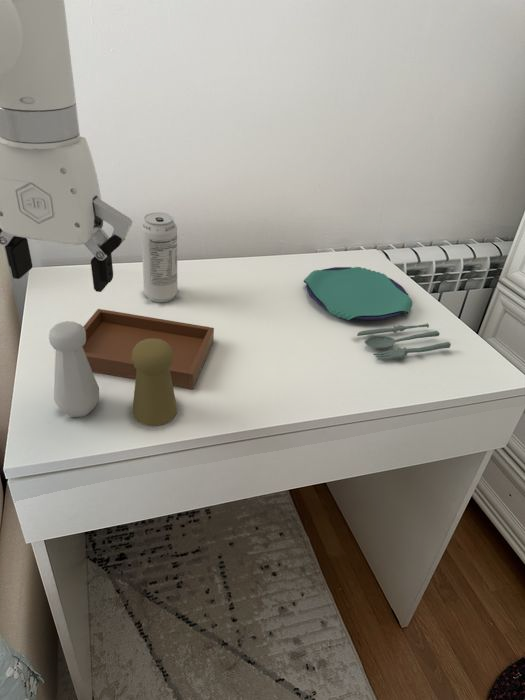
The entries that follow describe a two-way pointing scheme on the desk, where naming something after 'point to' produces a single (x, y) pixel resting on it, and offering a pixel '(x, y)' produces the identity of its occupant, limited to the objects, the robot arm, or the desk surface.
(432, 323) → the desk surface
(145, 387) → the pepper shaker
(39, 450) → the desk surface
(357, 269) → the cutlery set
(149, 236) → the energy drink can
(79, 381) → the salt shaker
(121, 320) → the tray
